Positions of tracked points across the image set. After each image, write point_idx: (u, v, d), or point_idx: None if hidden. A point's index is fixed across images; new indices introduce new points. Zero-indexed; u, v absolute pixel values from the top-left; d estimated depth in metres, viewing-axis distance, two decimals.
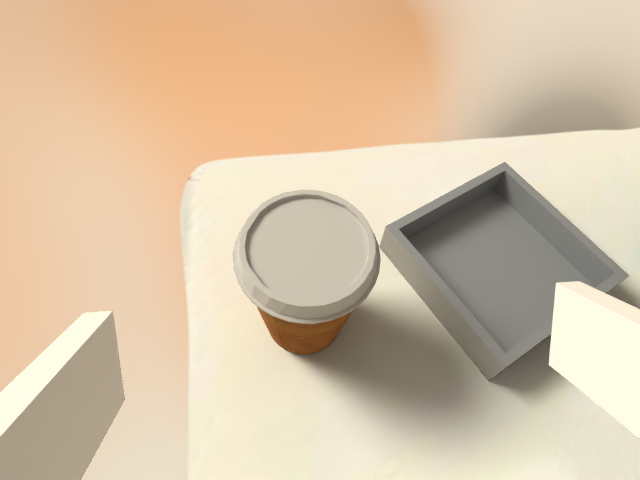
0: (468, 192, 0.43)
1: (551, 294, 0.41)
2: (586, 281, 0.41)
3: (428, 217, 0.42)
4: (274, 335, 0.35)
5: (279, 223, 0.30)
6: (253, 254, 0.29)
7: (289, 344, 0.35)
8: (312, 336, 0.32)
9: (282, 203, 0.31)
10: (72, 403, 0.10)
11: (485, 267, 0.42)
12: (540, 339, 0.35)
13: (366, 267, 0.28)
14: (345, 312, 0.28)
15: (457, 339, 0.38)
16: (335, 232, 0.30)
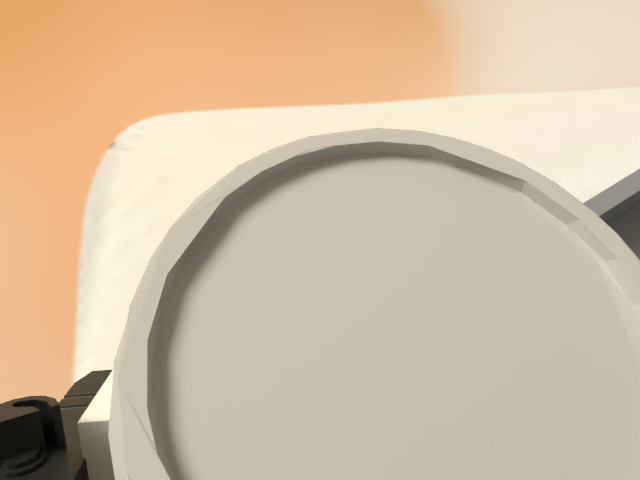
0: None
1: None
2: None
3: None
4: None
5: (296, 242, 0.08)
6: (186, 376, 0.07)
7: None
8: None
9: (305, 171, 0.09)
10: None
11: None
12: None
13: None
14: None
15: None
16: (508, 280, 0.08)
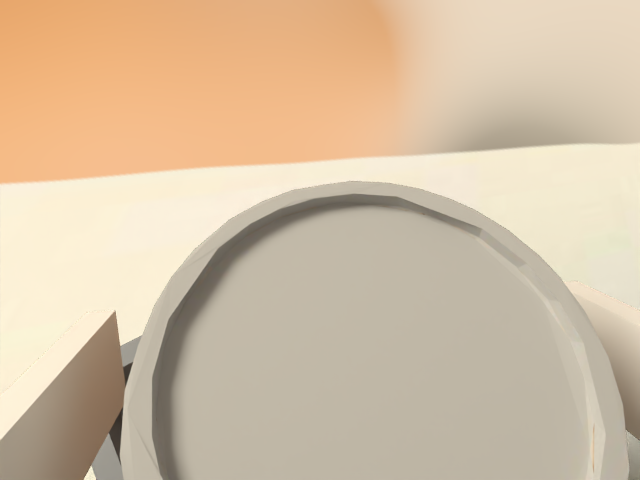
0: None
1: None
2: None
3: None
4: None
5: (279, 287, 0.09)
6: (184, 407, 0.08)
7: None
8: None
9: (289, 221, 0.10)
10: (75, 402, 0.10)
11: None
12: None
13: (607, 470, 0.07)
14: None
15: None
16: (463, 319, 0.09)
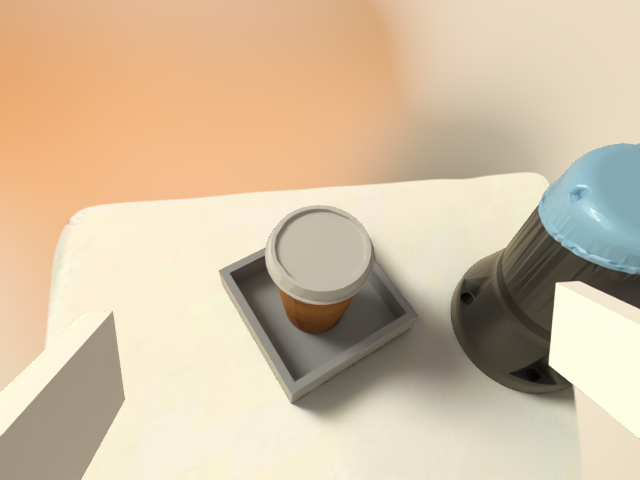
0: None
1: (360, 329, 0.48)
2: (393, 318, 0.49)
3: (261, 261, 0.49)
4: (291, 317, 0.45)
5: (299, 230, 0.40)
6: (280, 253, 0.39)
7: (303, 324, 0.45)
8: (322, 316, 0.42)
9: (301, 215, 0.41)
10: (72, 403, 0.10)
11: None
12: (327, 370, 0.42)
13: (364, 264, 0.38)
14: (348, 296, 0.38)
15: (271, 368, 0.45)
16: (341, 238, 0.40)
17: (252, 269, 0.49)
